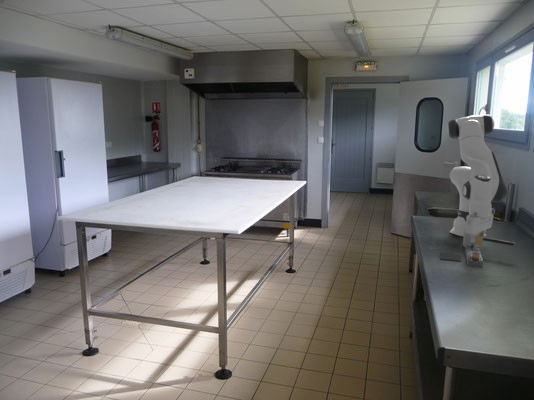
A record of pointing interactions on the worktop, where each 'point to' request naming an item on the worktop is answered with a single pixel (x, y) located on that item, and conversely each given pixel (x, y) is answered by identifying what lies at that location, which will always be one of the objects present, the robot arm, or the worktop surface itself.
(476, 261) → the body
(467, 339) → the worktop surface
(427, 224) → the worktop surface
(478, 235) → the brown wooden block
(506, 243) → the lever
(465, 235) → the can
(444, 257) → the mat
